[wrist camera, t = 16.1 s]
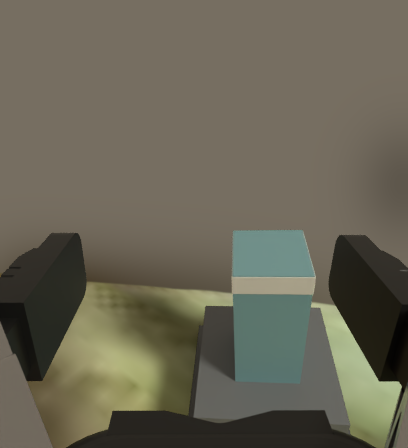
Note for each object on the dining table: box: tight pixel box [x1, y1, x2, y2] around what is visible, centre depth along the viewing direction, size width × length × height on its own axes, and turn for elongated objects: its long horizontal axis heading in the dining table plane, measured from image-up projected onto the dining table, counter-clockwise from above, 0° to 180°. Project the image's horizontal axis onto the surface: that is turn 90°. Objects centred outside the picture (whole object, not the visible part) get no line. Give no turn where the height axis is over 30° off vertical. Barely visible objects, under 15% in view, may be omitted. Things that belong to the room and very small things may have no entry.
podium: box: [189, 306, 351, 435], centre depth 31 cm, size 13×13×5 cm
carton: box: [232, 230, 316, 384], centre depth 27 cm, size 5×5×11 cm
